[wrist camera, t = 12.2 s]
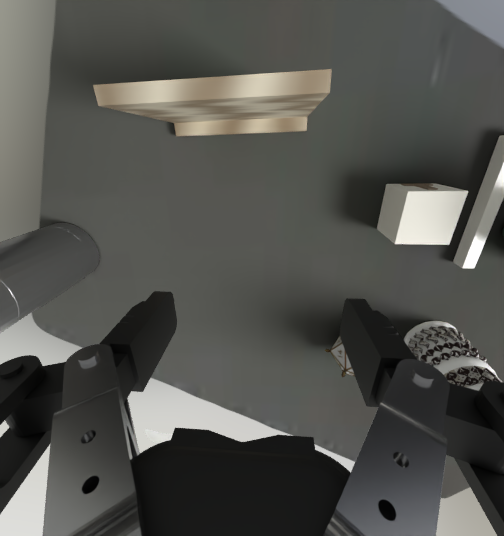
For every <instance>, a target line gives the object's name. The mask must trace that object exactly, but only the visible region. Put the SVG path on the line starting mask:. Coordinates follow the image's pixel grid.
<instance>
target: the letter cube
mask: <svg viewBox="0 0 504 536" xmlns="http://www.w3.org/2000/svg"><path fill="white" fill-rule="evenodd" d="M467 194H468V191H466V190H462V189H458V188H453V187H449V186H445V185H440V184H429V183H411V184H386V188H385V193H384V197H383V202H382V207H381V211H380V216H379V221H378V226H377V230H379V231H380V232H381V233H382V234H383V235H385V236H386V237H387V238H388V239H389V240H391V241H392V242H393V243H394V244H435V245H449V244H450V241H451V238H452V236H453V233H454V230H455V227H456V225H457V222H458V219H459V216H460V213H461V211H462V208H463V205H464V202H465V200H466V197H467Z"/></svg>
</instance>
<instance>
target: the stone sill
mask: <svg viewBox="0 0 504 536" xmlns="http://www.w3.org/2000/svg"><path fill="white" fill-rule="evenodd" d="M503 198H504V135H502V136H499V138H498V141H497V144H496V147H495V149H494V152H493V155H492V157H491V160H490V163H489V166H488V168H487V171H486V174H485V176H484V179H483V182H482V184H481V187H480V190H479V193H478V195H477V198H476V201H475V203H474V206H473V209H472V212H471V214H470V217H469V220H468V222H467V225H466V228H465V231H464V233H463V236H462V239H461V241H460V244H459V247H458V250H457V252H456V255H455V258H454V260H453V262H454V263H455V264H457V265H458V266H460V267H461V268H475V265H476V263H477V260H478V258H479V256H480V253H481V251H482V248H483V246H484V244H485V241H486V239H487V236H488V234H489V232H490V229H491V227H492V224H493V222H494V220H495V217H496V215H497V212H498V210H499V208H500V205H501V203H502V200H503Z"/></svg>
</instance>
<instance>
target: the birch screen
mask: <svg viewBox="0 0 504 536" xmlns="http://www.w3.org/2000/svg"><path fill="white" fill-rule="evenodd" d="M331 72H332V69H327V70H312V71H297V72H282V73H267V74H252V75H237V76H222V77H207V78H191V79H176V80H161V81H146V82H131V83H116V84H101V85H93V87H94V91H95V94H96V98H97V102H98V106H102V107H106V108H110V109H115V110H119V111H124V112H128V113H132V114H137V115H141V116H145V117H150V118H154V119H158V120H163V121H167V122H172V123H174V125H175V132H176V136H201V135H225V134H249V133H273V132H298V131H306V129H307V116H308V115H309V114H310V113H311V112H312V111H313V110H314V109H315V108H316V107H317V106H318V105H319V104H320V102H321V101H322V100H323V99H324V98H325V97H326V96H327V95H328V94H329V93H330V83H331Z"/></svg>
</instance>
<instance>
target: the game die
mask: <svg viewBox="0 0 504 536" xmlns="http://www.w3.org/2000/svg"><path fill="white" fill-rule="evenodd" d="M325 351H326V352H331V354H332V355H333V357H334V358H335V360H336V362H337V363H338V365H339V366H340V368H341V369H342V371H343V372H342V377H344V376H345V374H348V375H352V376H355V375H354V372H353V370H352V367H351V364H350V362H349V359H348V357H347V354H346V352H345V349H344V346H343V344H342V341H341V337H340V336H339V337H338V339H337V340H336V342H335V343H334V345H333V346H332V348H331V349H330V350H329V349H326V350H325Z"/></svg>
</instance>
